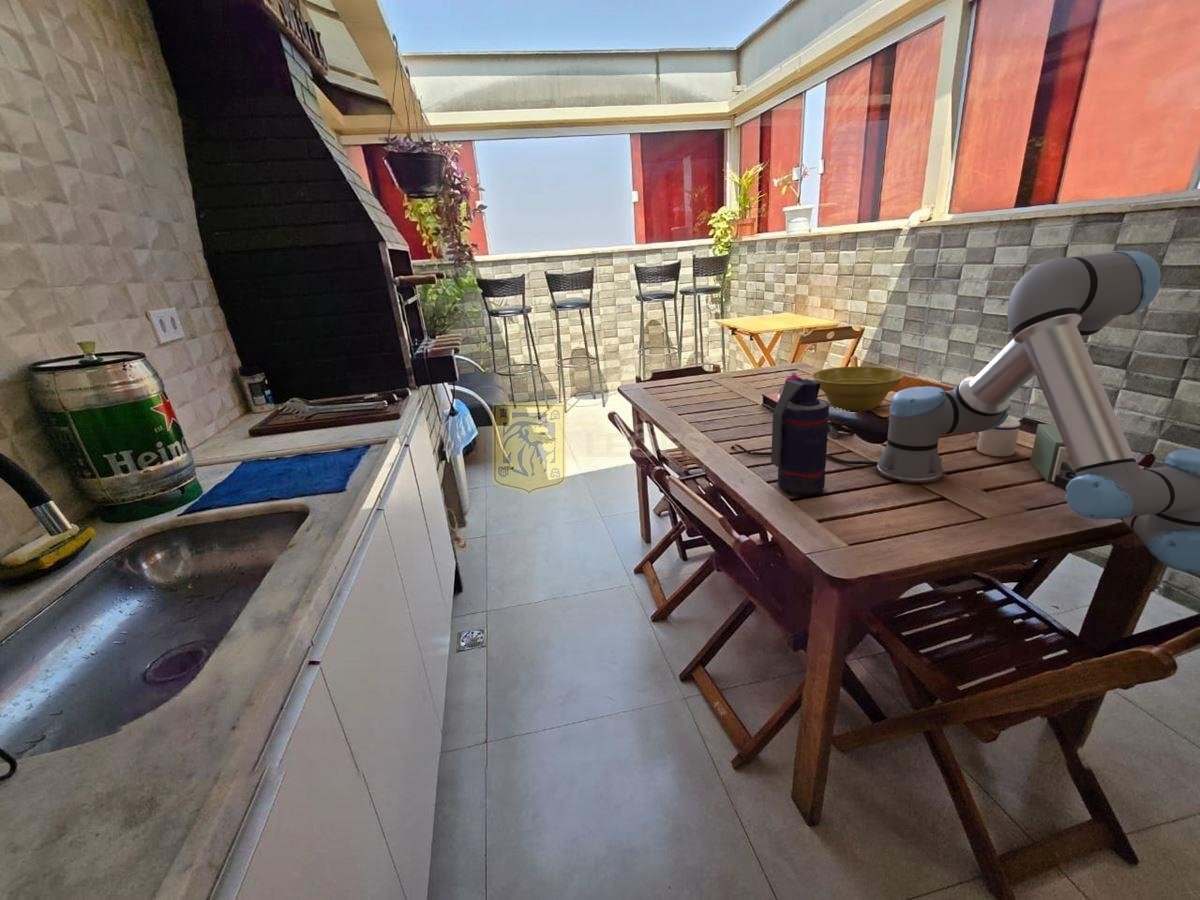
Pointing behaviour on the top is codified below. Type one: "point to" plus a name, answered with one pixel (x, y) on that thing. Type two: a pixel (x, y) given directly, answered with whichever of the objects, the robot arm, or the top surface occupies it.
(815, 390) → the grenade
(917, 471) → the robot arm
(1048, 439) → the cabinet
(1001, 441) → the teacup with lid
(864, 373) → the planter bowl
